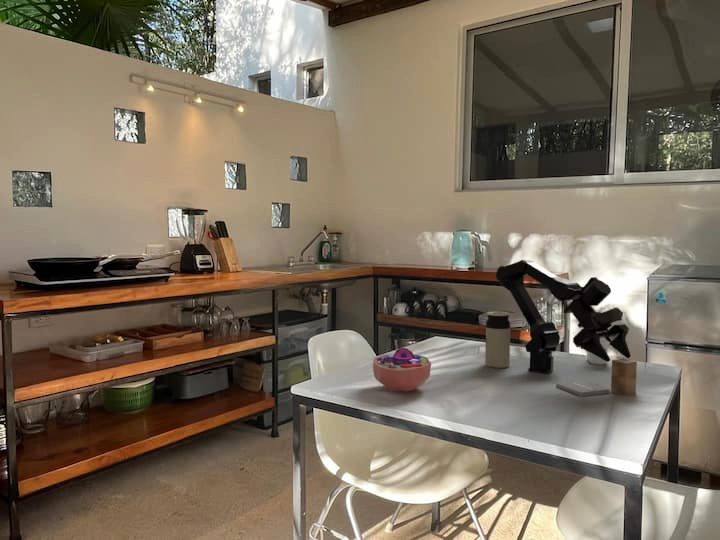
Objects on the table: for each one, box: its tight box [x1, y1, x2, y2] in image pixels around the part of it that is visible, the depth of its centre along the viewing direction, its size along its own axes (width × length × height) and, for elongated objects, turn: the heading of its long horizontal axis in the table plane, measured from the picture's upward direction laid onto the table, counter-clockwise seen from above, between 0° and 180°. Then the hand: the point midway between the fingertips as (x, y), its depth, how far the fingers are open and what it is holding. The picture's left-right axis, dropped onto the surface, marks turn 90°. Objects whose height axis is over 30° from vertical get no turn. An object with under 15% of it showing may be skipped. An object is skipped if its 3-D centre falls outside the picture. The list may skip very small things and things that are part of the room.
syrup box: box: [586, 338, 609, 365], centre depth 192 cm, size 6×6×14 cm
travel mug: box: [484, 311, 511, 369], centre depth 186 cm, size 8×8×18 cm
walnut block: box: [610, 358, 638, 397], centre depth 154 cm, size 4×4×9 cm
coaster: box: [555, 380, 611, 397], centre depth 157 cm, size 10×10×1 cm
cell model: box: [372, 347, 432, 393], centre depth 157 cm, size 17×20×11 cm
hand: (619, 359), depth 155 cm, fingers open, 9 cm apart
